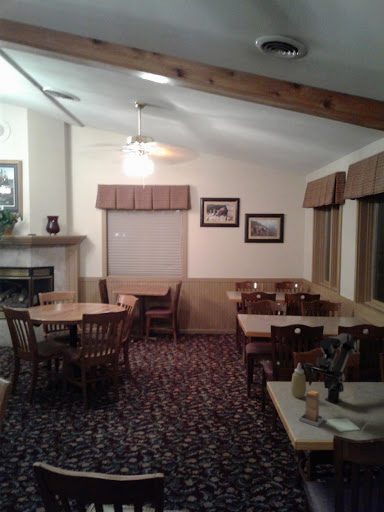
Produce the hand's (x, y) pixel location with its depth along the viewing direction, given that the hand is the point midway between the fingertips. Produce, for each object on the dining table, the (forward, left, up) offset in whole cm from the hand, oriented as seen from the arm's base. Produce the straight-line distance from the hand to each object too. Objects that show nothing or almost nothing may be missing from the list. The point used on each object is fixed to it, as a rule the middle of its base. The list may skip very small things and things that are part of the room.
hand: (318, 387), depth 184 cm
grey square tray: (+8, +1, -13) cm, 16 cm away
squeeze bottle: (-12, -18, -14) cm, 25 cm away
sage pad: (+1, +13, -13) cm, 19 cm away
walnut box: (+8, +1, -13) cm, 15 cm away
